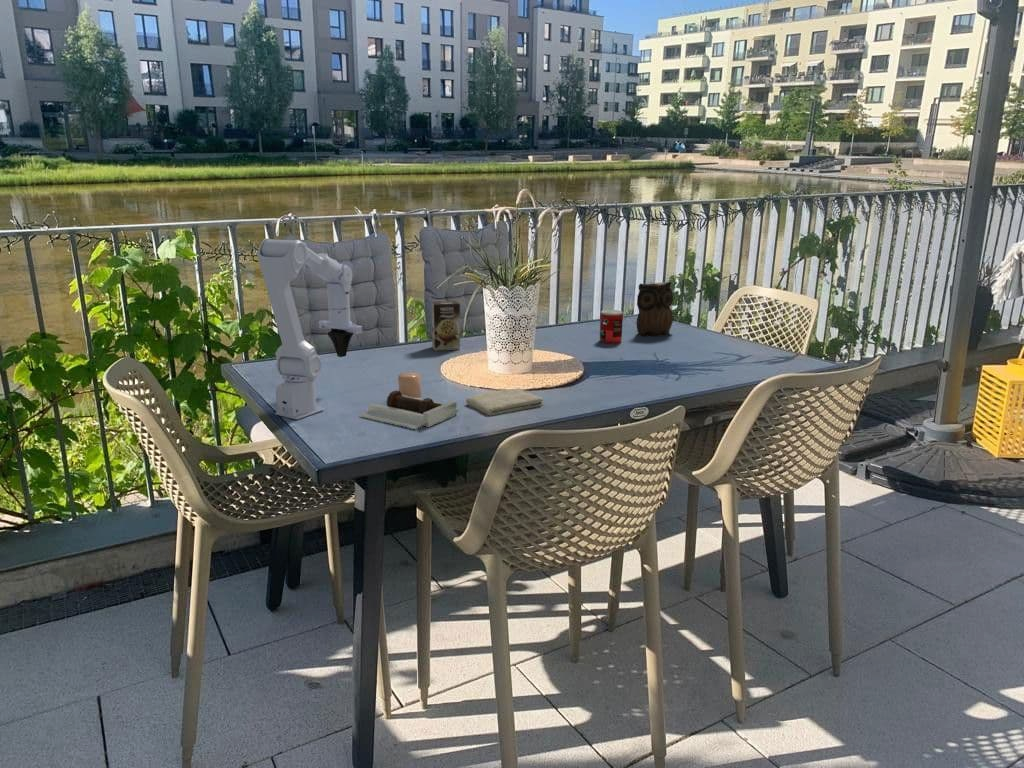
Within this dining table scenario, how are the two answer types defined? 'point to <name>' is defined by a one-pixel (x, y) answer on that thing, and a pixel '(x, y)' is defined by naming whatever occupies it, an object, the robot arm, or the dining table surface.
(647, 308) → the owl
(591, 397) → the dining table surface
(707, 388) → the dining table surface
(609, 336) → the canned food
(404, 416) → the bracket
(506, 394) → the washcloth
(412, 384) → the tan rounded block
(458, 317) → the cookie box
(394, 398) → the bolt
